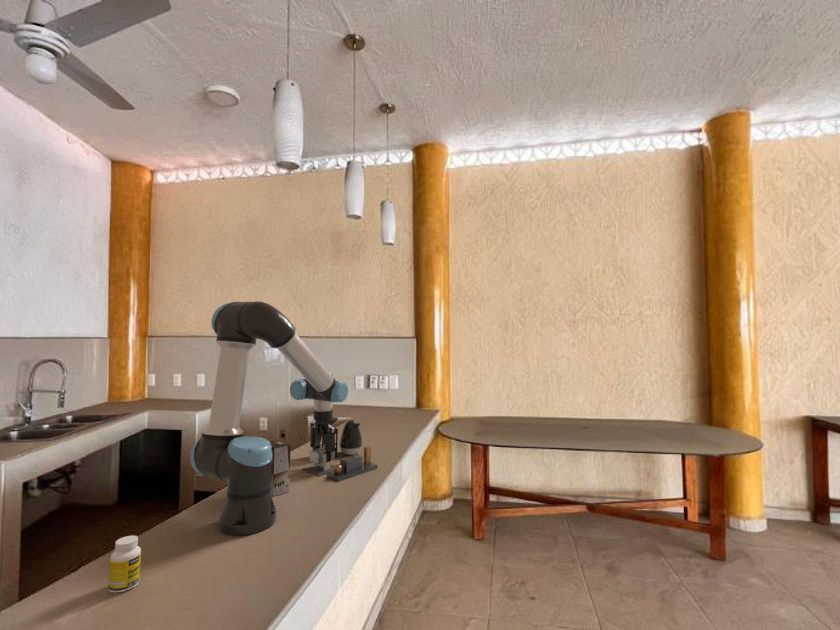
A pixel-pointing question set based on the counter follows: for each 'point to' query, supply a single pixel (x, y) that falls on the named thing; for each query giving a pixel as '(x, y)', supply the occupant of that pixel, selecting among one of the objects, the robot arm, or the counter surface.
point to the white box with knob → (319, 455)
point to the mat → (318, 469)
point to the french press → (336, 436)
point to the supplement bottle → (125, 564)
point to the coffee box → (280, 467)
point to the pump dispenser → (351, 438)
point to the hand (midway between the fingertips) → (322, 467)
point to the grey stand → (352, 466)
